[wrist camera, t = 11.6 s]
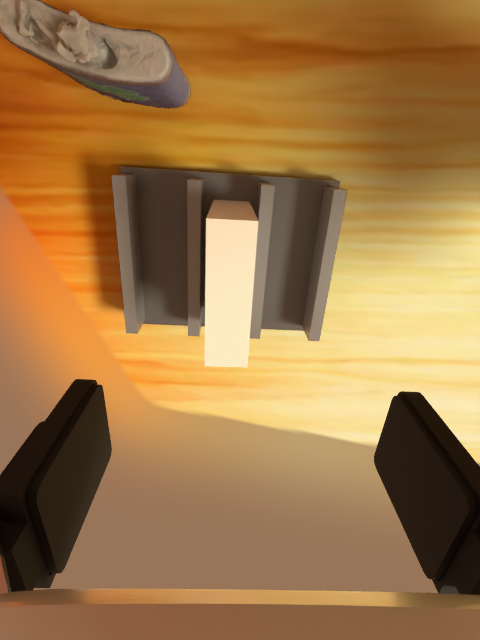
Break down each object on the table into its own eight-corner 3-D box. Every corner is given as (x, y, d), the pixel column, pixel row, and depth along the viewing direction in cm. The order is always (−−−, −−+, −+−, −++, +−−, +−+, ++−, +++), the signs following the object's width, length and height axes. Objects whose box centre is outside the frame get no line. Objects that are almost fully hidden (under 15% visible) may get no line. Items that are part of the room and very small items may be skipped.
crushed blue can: (193, 75, 25) (170, 24, 16) (187, 119, 27) (161, 97, 17) (66, 38, 24) (-43, -42, 15) (66, 85, 25) (-36, 41, 16)
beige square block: (249, 201, 28) (258, 220, 19) (242, 309, 33) (247, 367, 24) (213, 199, 28) (206, 218, 19) (211, 308, 32) (204, 366, 23)
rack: (336, 180, 29) (352, 183, 25) (311, 326, 35) (321, 345, 31) (123, 166, 28) (107, 167, 24) (135, 318, 34) (123, 338, 30)
